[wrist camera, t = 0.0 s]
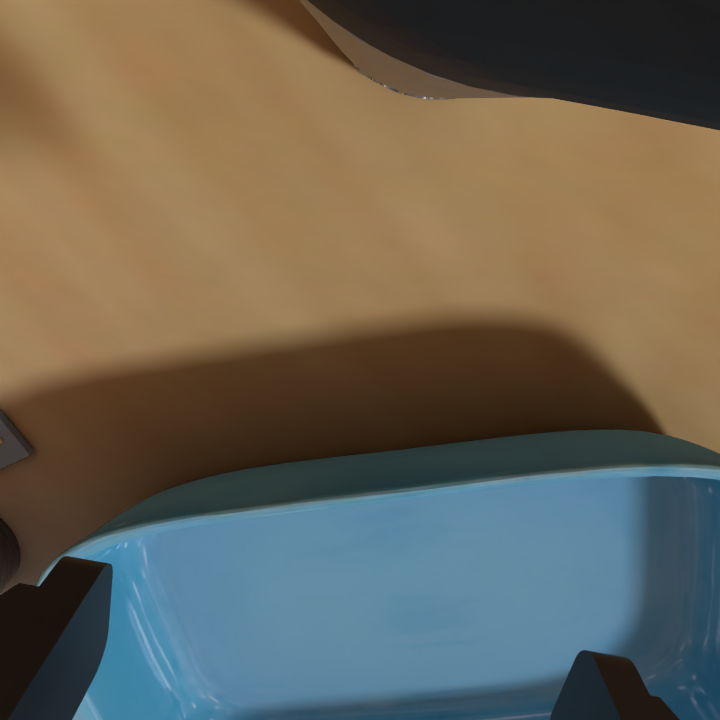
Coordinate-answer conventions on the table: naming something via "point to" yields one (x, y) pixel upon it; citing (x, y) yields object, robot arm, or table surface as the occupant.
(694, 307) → the table surface
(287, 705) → the casserole dish
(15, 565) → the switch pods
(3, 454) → the chart card
